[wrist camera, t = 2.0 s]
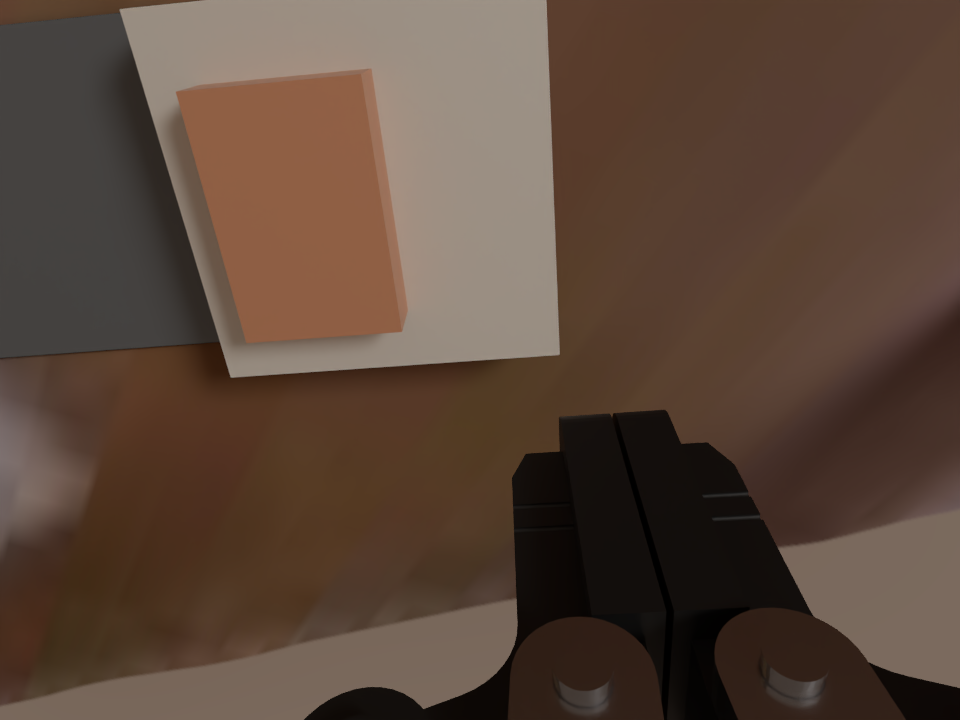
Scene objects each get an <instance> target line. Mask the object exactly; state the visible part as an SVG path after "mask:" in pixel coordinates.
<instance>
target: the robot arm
mask: <svg viewBox="0 0 960 720" xmlns="http://www.w3.org/2000/svg"><path fill="white" fill-rule="evenodd" d="M559 439H560V452H547V453H531V454H526V455H525V456H524V458H523V460H522V461H521V463H520V465H519V467H518V468H517V470H516V472H515V474H514V475H513V477H512V488H513V514H514V540H515V567H516V593H517V619H518V627H517V637H516V641H515V645H514V647H513V650H512V652H511V654H510V656H509V658H508V659H507V661H506V662H505V664H504V665H503V666H502V667H501V669H500V670H499V671H498V672H497V673H496V674H495V675H494V676H493V677H492V678H490V679H489V680H488V681H487V682H486V683H484V684H482V685H481V686H479V687H478V688H476V689H474V690H472V691H470V692H468V693H465V694H463V695H461V696H458V697H455V698H453V699H450V700H447V701H445V702H442V703H439V704H436V705H434V706H431V707H428V708H426V709H423V708H422V707H421V706H420V705H419V704H417V703H416V702H415V701H414V700H413V699H412V698H410V697H408V696H406V695H405V694H403V693H401V692H398V691H395V690H393V689H387V688H382V687H367V688H360V689H355V690H352V691H348V692H345V693H343V694H340V695H338V696H336V697H334V698H332V699H330V700H328V701H327V702H325V703H324V704H322V705H320V706H319V707H318V708H317V709H316V710H314V711H313V712H312V713H311V714H310V715H308V716H307V717H306V718H305V719H304V720H960V688H957V687H952V686H948V685H944V684H939V683H935V682H930V681H926V680H922V679H917V678H912V677H908V676H905V675H901V674H898V673H894V672H891V671H888V670H886V669H883V668H880V667H878V666H875V665H873V664H871V663H869V662H868V661H867V660H866V658H865V657H864V655H863V654H862V653H861V652H860V650H859V649H858V648H857V647H856V646H855V645H854V644H853V643H852V642H851V641H850V640H849V639H848V638H847V637H846V636H844V635H843V634H842V633H841V632H839V631H838V630H837V629H835V628H834V627H832V626H830V625H829V624H827V623H825V622H823V621H821V620H819V619H817V618H815V617H814V616H813V615H812V613H811V611H810V610H809V608H808V606H807V604H806V602H805V600H804V598H803V596H802V594H801V592H800V590H799V588H798V586H797V585H796V583H795V581H794V579H793V577H792V575H791V573H790V571H789V569H788V567H787V565H786V564H785V562H784V560H783V557H782V556H781V554H780V552H779V550H778V548H777V546H776V544H775V542H774V540H773V538H772V536H771V534H770V532H769V530H768V529H767V527H766V525H765V523H764V521H763V520H761V519H760V513H759V511H758V509H757V507H756V505H755V503H754V502H753V500H752V498H751V497H749V495H748V490H747V488H746V486H745V484H744V482H743V480H742V478H741V476H740V474H739V473H738V471H737V469H736V467H735V465H734V464H733V463H732V462H731V461H730V460H728V459H727V458H726V457H725V456H723V455H722V454H721V453H720V452H718V451H717V450H716V449H715V448H713V447H712V446H711V445H710V444H709V443H690V444H681V443H680V441H679V438H678V436H677V433H676V431H675V429H674V426H673V424H672V422H671V419H670V417H669V415H668V413H667V411H666V410H655V411H640V412H624V413H614V414H613V417H611V415H610V414H596V415H580V416H565V417H559Z"/></svg>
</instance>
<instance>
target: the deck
mask: <svg viewBox="0 0 960 720" xmlns="http://www.w3.org/2000/svg"><path fill="white" fill-rule="evenodd" d="M120 13H121V16H122V19H123V23H124V26H125V29H126V33H127V36H128V39H129V43H130V46H131V49H132V53H133V56H134V59H135V62H136V66H137V69H138V72H139V76H140V79H141V82H142V86H143V89H144V92H145V96H146V99H147V102H148V105H149V109H150V112H151V115H152V119H153V122H154V125H155V129H156V132H157V135H158V139H159V142H160V145H161V149H162V152H163V155H164V158H165V162H166V165H167V168H168V172H169V175H170V178H171V182H172V185H173V188H174V192H175V195H176V198H177V201H178V205H179V208H180V211H181V215H182V218H183V221H184V225H185V228H186V231H187V235H188V238H189V241H190V245H191V248H192V251H193V254H194V258H195V261H196V264H197V268H198V271H199V274H200V278H201V281H202V284H203V288H204V291H205V294H206V297H207V301H208V304H209V307H210V311H211V314H212V317H213V321H214V324H215V327H216V331H217V334H218V337H219V340H220V344H221V347H222V350H223V354H224V357H225V360H226V364H227V367H228V370H229V374H230V377H231V378H233V377H247V376H262V375H276V374H291V373H305V372H319V371H334V370H348V369H363V368H377V367H391V366H406V365H420V364H435V363H449V362H464V361H478V360H492V359H507V358H521V357H536V356H550V355H560V352H559V325H558V298H557V272H556V245H555V218H554V192H553V165H552V139H551V112H550V85H549V59H548V32H547V5H546V0H204V1H194V2H184V3H175V4H165V5H155V6H146V7H136V8H126V9H120ZM370 68H371V69H372V76H373V82H374V89H375V96H376V102H377V109H378V115H379V122H380V128H381V135H382V142H383V148H384V155H385V161H386V168H387V175H388V181H389V188H390V194H391V201H392V208H393V214H394V221H395V227H396V234H397V241H398V247H399V254H400V260H401V267H402V274H403V280H404V287H405V293H406V300H407V307H408V312H407V316H406V320H405V323H404V327H403V330H402V332H394V333H381V334H367V335H353V336H339V337H325V338H311V339H298V340H284V341H270V342H256V343H246V340H245V336H244V333H243V329H242V325H241V322H240V318H239V315H238V311H237V308H236V304H235V301H234V297H233V294H232V290H231V286H230V283H229V279H228V276H227V272H226V269H225V265H224V262H223V258H222V254H221V251H220V247H219V244H218V240H217V237H216V233H215V230H214V226H213V223H212V219H211V215H210V212H209V208H208V205H207V201H206V198H205V194H204V191H203V187H202V183H201V180H200V176H199V173H198V169H197V166H196V162H195V159H194V155H193V152H192V148H191V144H190V141H189V137H188V134H187V130H186V127H185V123H184V120H183V116H182V112H181V109H180V105H179V102H178V98H177V95H176V91H180V90H183V89H187V88H190V87H194V86H197V85H203V84H214V83H224V82H234V81H245V80H255V79H266V78H276V77H287V76H297V75H308V74H318V73H328V72H339V71H349V70H360V69H370Z"/></svg>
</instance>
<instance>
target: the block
mask: <svg viewBox="0 0 960 720" xmlns="http://www.w3.org/2000/svg"><path fill="white" fill-rule="evenodd" d="M176 95H177V98H178V102H179V105H180V109H181V112H182V116H183V120H184V123H185V127H186V130H187V134H188V137H189V141H190V144H191V148H192V152H193V155H194V159H195V162H196V166H197V169H198V173H199V176H200V180H201V183H202V187H203V191H204V194H205V198H206V201H207V205H208V208H209V212H210V215H211V219H212V223H213V226H214V230H215V233H216V237H217V240H218V244H219V247H220V251H221V254H222V258H223V262H224V265H225V269H226V272H227V276H228V279H229V283H230V286H231V290H232V294H233V297H234V301H235V304H236V308H237V311H238V315H239V318H240V322H241V325H242V329H243V333H244V336H245V340H246V343H256V342H270V341H284V340H298V339H311V338H325V337H339V336H353V335H367V334H381V333H394V332H402V330H403V327H404V323H405V320H406V316H407V312H408V307H407V300H406V293H405V287H404V280H403V274H402V267H401V260H400V254H399V247H398V241H397V234H396V227H395V221H394V214H393V208H392V201H391V194H390V188H389V181H388V175H387V168H386V161H385V155H384V148H383V142H382V135H381V128H380V122H379V115H378V109H377V102H376V96H375V89H374V82H373V76H372V69H371V68H370V69H360V70H349V71H339V72H328V73H318V74H308V75H297V76H287V77H276V78H266V79H255V80H245V81H234V82H224V83H214V84H203V85H197V86H194V87H190V88H187V89H183V90H180V91H176Z"/></svg>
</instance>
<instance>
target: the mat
mask: <svg viewBox="0 0 960 720" xmlns="http://www.w3.org/2000/svg"><path fill="white" fill-rule="evenodd" d="M212 342H220V340H219V337H218V334H217V331H216V327H215V324H214V321H213V317H212V314H211V311H210V307H209V304H208V301H207V297H206V294H205V291H204V288H203V284H202V281H201V278H200V274H199V271H198V268H197V264H196V261H195V258H194V254H193V251H192V248H191V245H190V241H189V238H188V235H187V231H186V228H185V225H184V221H183V218H182V215H181V211H180V208H179V205H178V201H177V198H176V195H175V192H174V188H173V185H172V182H171V178H170V175H169V172H168V168H167V165H166V162H165V158H164V155H163V152H162V149H161V145H160V142H159V139H158V135H157V132H156V129H155V125H154V122H153V119H152V115H151V112H150V109H149V105H148V102H147V99H146V96H145V92H144V89H143V86H142V82H141V79H140V76H139V72H138V69H137V66H136V62H135V59H134V56H133V53H132V49H131V46H130V43H129V39H128V36H127V33H126V29H125V26H124V23H123V19H122V16H121V13H115V14H106V15H96V16H86V17H76V18H67V19H57V20H47V21H38V22H28V23H18V24H8V25H0V358H5V357H19V356H33V355H47V354H60V353H74V352H88V351H102V350H115V349H129V348H143V347H157V346H171V345H184V344H198V343H212Z"/></svg>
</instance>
